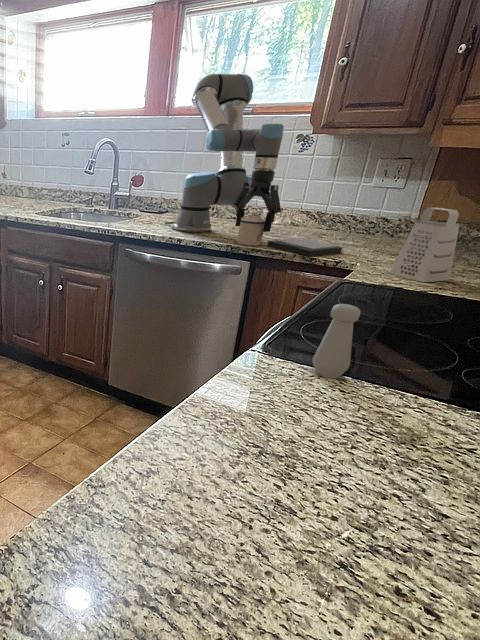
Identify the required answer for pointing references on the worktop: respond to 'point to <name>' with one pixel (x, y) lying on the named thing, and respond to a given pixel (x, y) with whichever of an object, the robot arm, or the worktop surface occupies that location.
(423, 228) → the grater
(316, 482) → the worktop surface
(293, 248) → the scale
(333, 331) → the salt shaker
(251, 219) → the teacup with lid
